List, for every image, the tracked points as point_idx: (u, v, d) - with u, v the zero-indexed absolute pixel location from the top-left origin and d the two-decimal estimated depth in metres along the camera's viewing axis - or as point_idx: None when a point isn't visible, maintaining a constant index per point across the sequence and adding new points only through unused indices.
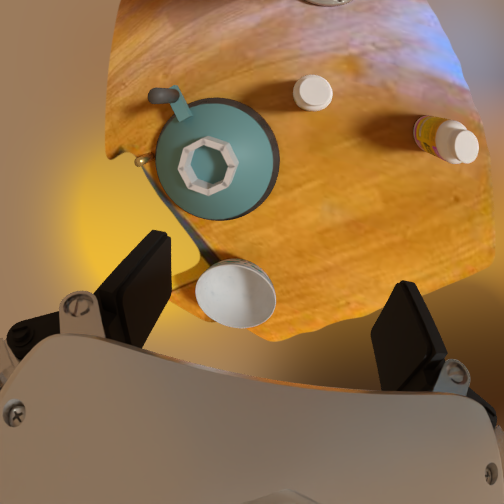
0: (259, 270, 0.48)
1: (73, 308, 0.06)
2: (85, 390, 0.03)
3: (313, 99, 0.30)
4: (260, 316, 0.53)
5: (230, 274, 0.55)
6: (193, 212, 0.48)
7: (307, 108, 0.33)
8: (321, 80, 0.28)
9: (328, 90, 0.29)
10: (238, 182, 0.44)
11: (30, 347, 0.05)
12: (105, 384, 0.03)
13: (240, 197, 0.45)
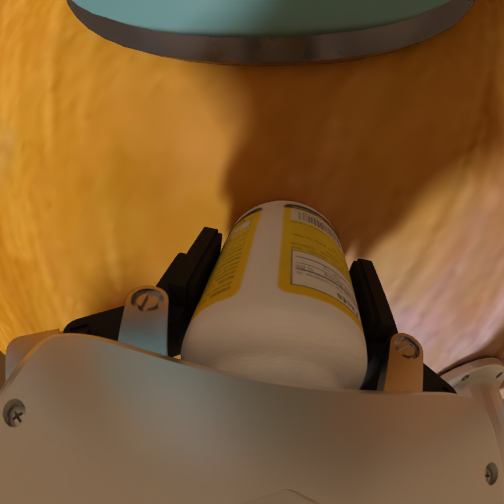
0: None
1: (142, 303, 0.07)
2: (85, 390, 0.03)
3: None
4: None
5: None
6: None
7: (207, 333, 0.06)
8: None
9: None
10: None
11: None
12: (105, 384, 0.03)
13: None
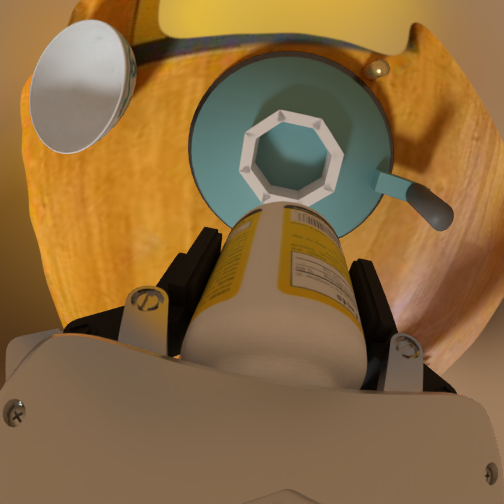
0: None
1: (142, 303, 0.07)
2: (85, 390, 0.03)
3: None
4: (41, 107, 0.22)
5: (116, 72, 0.24)
6: (236, 75, 0.22)
7: (207, 335, 0.06)
8: None
9: None
10: (237, 173, 0.27)
11: None
12: (105, 384, 0.03)
13: (215, 160, 0.26)
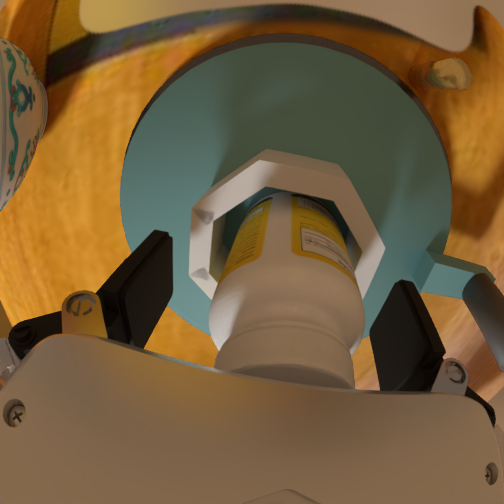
0: None
1: (76, 308, 0.06)
2: (85, 390, 0.03)
3: None
4: None
5: None
6: (181, 85, 0.11)
7: (236, 289, 0.08)
8: None
9: None
10: None
11: (32, 347, 0.05)
12: (105, 384, 0.03)
13: None
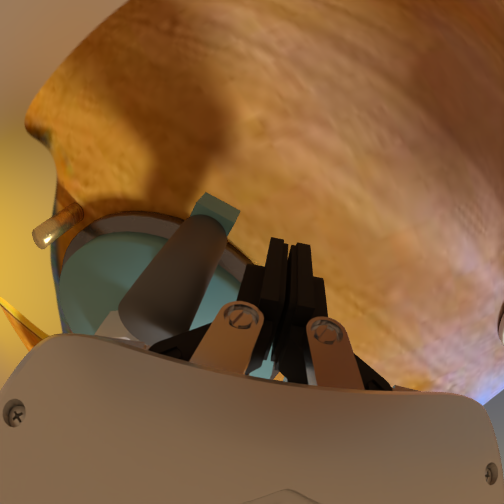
0: None
1: (236, 320, 0.07)
2: (85, 390, 0.03)
3: None
4: None
5: None
6: None
7: None
8: None
9: None
10: None
11: None
12: (105, 384, 0.03)
13: None
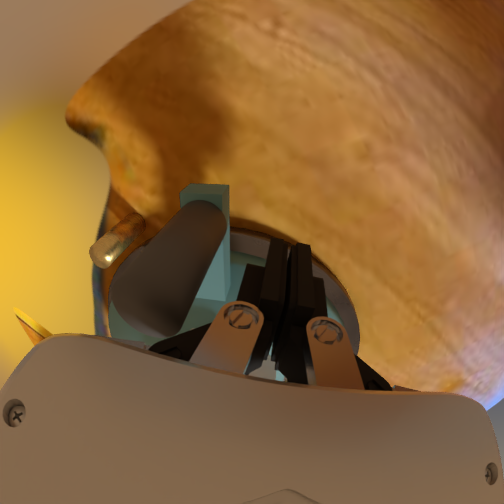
0: None
1: (236, 320, 0.07)
2: (85, 390, 0.03)
3: None
4: None
5: None
6: None
7: None
8: None
9: None
10: None
11: None
12: (105, 384, 0.03)
13: None
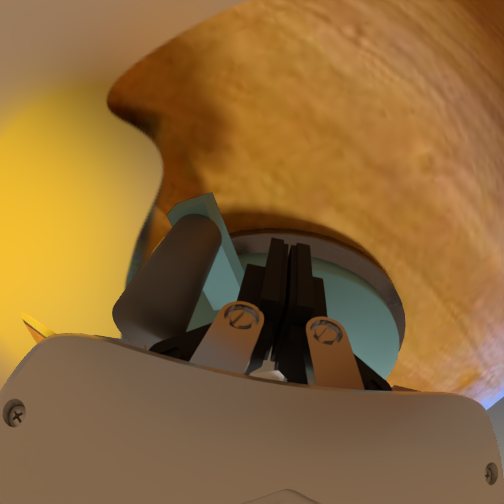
0: None
1: (237, 320, 0.07)
2: (85, 390, 0.03)
3: None
4: None
5: None
6: None
7: None
8: None
9: None
10: None
11: None
12: (105, 384, 0.03)
13: None
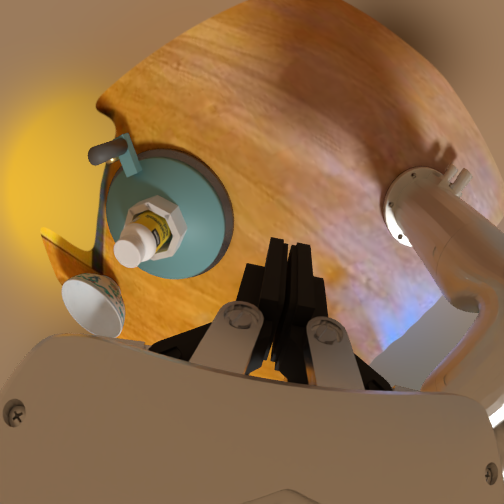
0: (122, 314, 0.46)
1: (236, 320, 0.07)
2: (85, 390, 0.03)
3: (126, 261, 0.32)
4: (98, 328, 0.51)
5: None
6: (142, 267, 0.44)
7: None
8: (131, 244, 0.30)
9: (138, 255, 0.31)
10: (186, 247, 0.41)
11: None
12: (105, 384, 0.03)
13: (187, 262, 0.42)
